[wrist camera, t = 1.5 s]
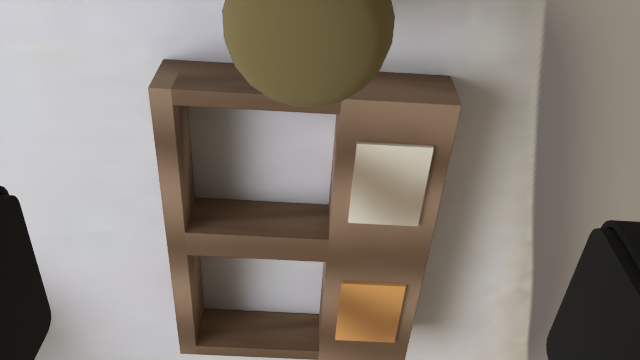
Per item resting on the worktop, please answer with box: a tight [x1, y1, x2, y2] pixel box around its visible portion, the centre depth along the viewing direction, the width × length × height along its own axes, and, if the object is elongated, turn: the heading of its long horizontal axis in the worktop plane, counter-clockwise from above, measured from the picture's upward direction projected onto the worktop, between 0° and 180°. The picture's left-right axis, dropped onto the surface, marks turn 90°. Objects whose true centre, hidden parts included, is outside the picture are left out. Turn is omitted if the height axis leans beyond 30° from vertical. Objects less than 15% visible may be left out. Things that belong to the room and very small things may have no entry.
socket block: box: [148, 60, 461, 360], centre depth 33 cm, size 18×14×3 cm
